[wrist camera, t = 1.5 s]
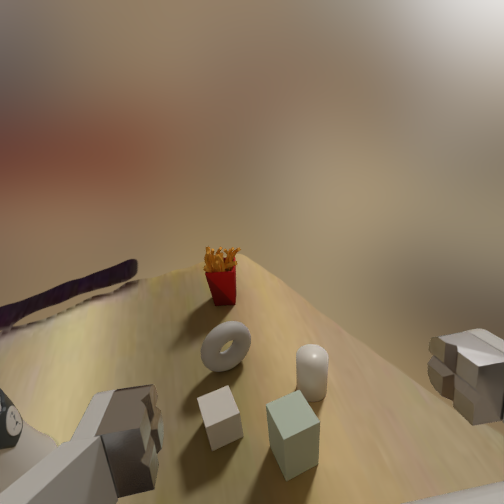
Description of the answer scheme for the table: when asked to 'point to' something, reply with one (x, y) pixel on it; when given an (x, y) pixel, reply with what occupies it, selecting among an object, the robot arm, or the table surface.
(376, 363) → the table surface
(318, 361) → the white canister
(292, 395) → the sage block
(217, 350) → the donut
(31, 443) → the robot arm
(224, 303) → the french fries
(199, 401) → the grey cube
